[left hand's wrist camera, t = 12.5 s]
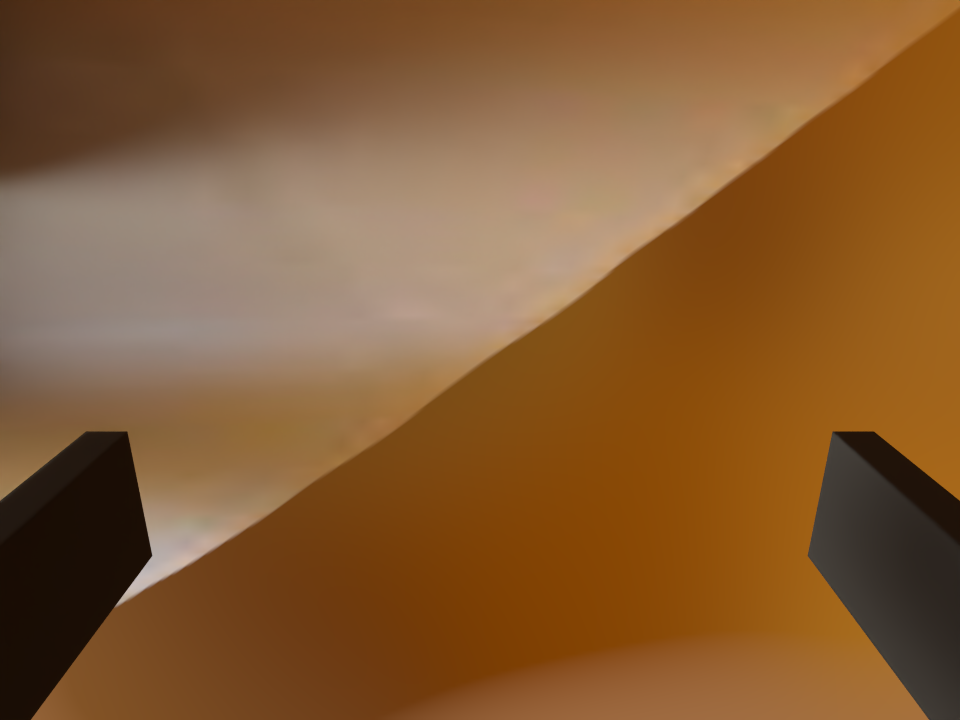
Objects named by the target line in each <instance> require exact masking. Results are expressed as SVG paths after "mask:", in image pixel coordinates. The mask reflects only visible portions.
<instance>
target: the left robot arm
mask: <svg viewBox="0 0 960 720" xmlns="http://www.w3.org/2000/svg"><path fill="white" fill-rule="evenodd" d="M151 557H152V552H151V547H150V542H149V537H148V532H147V527H146V522H145V517H144V512H143V507H142V502H141V497H140V492H139V487H138V482H137V477H136V472H135V467H134V462H133V457H132V452H131V448H130V443H129V438H128V433H127V432H85V433H84V434H83V435H81V436H80V437H79V438H78V439H76V440H75V441H74V442H73V443H71V444H70V445H69V446H68V447H66V448H65V449H64V450H63V451H61V452H60V453H59V454H58V455H57V456H55V457H54V458H53V459H52V460H50V461H49V462H48V463H47V464H45V465H44V466H43V467H42V468H40V469H39V470H38V471H37V472H35V473H34V474H33V475H32V476H31V477H29V478H28V479H27V480H26V481H24V482H23V483H22V484H21V485H19V486H18V487H17V488H16V489H14V490H13V491H12V492H11V493H9V494H8V495H7V496H6V497H5V498H3V499H2V500H1V501H0V720H31V719H32V717H33V716H34V715H35V713H36V712H37V711H38V709H39V708H40V706H41V705H42V704H43V702H44V701H45V700H46V698H47V697H48V696H49V694H50V693H51V692H52V690H53V689H54V688H55V686H56V685H57V684H58V682H59V681H60V680H61V678H62V677H63V676H64V674H65V673H66V671H67V670H68V669H69V667H70V666H71V665H72V663H73V662H74V661H75V659H76V658H77V657H78V655H79V654H80V653H81V651H82V650H83V649H84V647H85V646H86V644H87V643H88V642H89V640H90V639H91V638H92V636H93V635H94V634H95V632H96V631H97V630H98V628H99V627H100V626H101V624H102V623H103V622H104V620H105V619H106V617H107V616H108V615H109V613H110V612H111V611H112V609H113V608H114V607H115V605H116V604H117V603H118V601H119V600H120V599H121V597H122V596H123V595H124V593H125V592H126V591H127V589H128V588H129V586H130V585H131V584H132V582H133V581H134V580H135V578H136V577H137V576H138V574H139V573H140V572H141V570H142V569H143V568H144V566H145V565H146V564H147V562H148V561H149V559H150V558H151ZM808 557H809V558H810V559H811V561H812V562H813V563H814V565H815V566H816V568H817V569H818V570H819V572H820V573H821V574H822V576H823V577H824V578H825V580H826V581H827V582H828V584H829V585H830V586H831V588H832V589H833V590H834V592H835V593H836V595H837V596H838V597H839V599H840V600H841V601H842V603H843V604H844V605H845V607H846V608H847V609H848V611H849V612H850V613H851V615H852V616H853V617H854V619H855V620H856V622H857V623H858V624H859V625H860V627H861V628H862V630H863V631H864V632H865V633H866V635H867V636H868V638H869V639H870V640H871V642H872V643H873V644H874V646H875V647H876V648H877V650H878V651H879V653H880V654H881V655H882V656H883V658H884V659H885V661H886V662H887V663H888V665H889V666H890V667H891V669H892V670H893V671H894V673H895V674H896V676H897V677H898V678H899V680H900V681H901V682H902V684H903V685H904V686H905V688H906V689H907V690H908V692H909V693H910V694H911V696H912V697H913V698H914V700H915V701H916V702H917V704H918V705H919V707H920V708H921V709H922V711H923V712H924V713H925V715H926V716H927V717H928V719H929V720H960V501H959V500H958V499H957V498H955V497H954V496H953V495H952V494H951V493H949V492H948V491H947V490H946V489H944V488H943V487H942V486H941V485H939V484H938V483H937V482H936V481H934V480H933V479H932V478H931V477H929V476H928V475H927V474H926V473H925V472H923V471H922V470H921V469H920V468H918V467H917V466H916V465H915V464H913V463H912V462H911V461H910V460H908V459H907V458H906V457H905V456H903V455H902V454H901V453H900V452H899V451H897V450H896V449H895V448H894V447H892V446H891V445H890V444H889V443H887V442H886V441H885V440H884V439H882V438H881V437H880V436H879V435H877V434H876V433H875V432H833V433H832V438H831V443H830V448H829V453H828V457H827V462H826V467H825V473H824V477H823V482H822V488H821V492H820V498H819V502H818V507H817V512H816V517H815V522H814V527H813V532H812V537H811V542H810V547H809V552H808Z"/></svg>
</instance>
